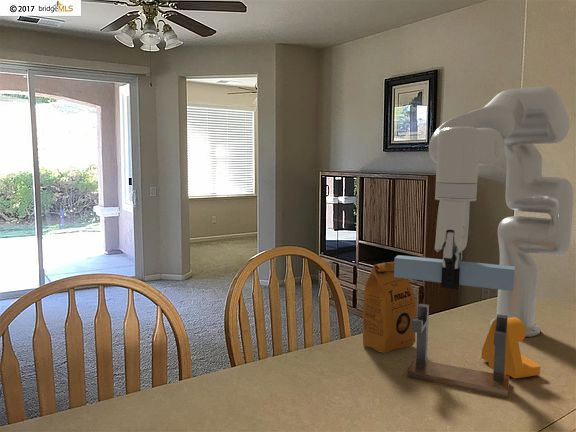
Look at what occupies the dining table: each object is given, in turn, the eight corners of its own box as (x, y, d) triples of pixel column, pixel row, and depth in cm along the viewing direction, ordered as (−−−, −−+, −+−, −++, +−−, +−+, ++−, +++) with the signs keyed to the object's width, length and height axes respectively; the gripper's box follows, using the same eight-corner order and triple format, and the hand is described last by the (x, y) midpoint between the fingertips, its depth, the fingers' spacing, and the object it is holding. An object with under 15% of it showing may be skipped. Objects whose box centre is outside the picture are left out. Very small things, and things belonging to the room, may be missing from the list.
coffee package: (421, 348, 120) (424, 262, 117) (382, 358, 114) (385, 268, 111) (394, 335, 129) (396, 255, 126) (357, 344, 123) (358, 260, 120)
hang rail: (397, 273, 100) (398, 255, 100) (513, 287, 90) (514, 266, 90) (393, 277, 97) (394, 257, 97) (513, 291, 88) (514, 269, 87)
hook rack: (414, 364, 111) (416, 301, 109) (508, 383, 102) (513, 314, 100) (405, 379, 103) (407, 312, 101) (507, 401, 94) (511, 327, 92)
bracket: (542, 377, 104) (545, 324, 103) (514, 382, 102) (517, 328, 101) (506, 357, 115) (509, 309, 113) (481, 361, 113) (483, 312, 111)
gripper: (442, 189, 101) (438, 274, 103) (427, 194, 86) (423, 293, 88) (480, 190, 97) (476, 279, 99) (471, 195, 83) (466, 299, 85)
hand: (451, 285), depth 94 cm, fingers closed on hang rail, 3 cm apart
